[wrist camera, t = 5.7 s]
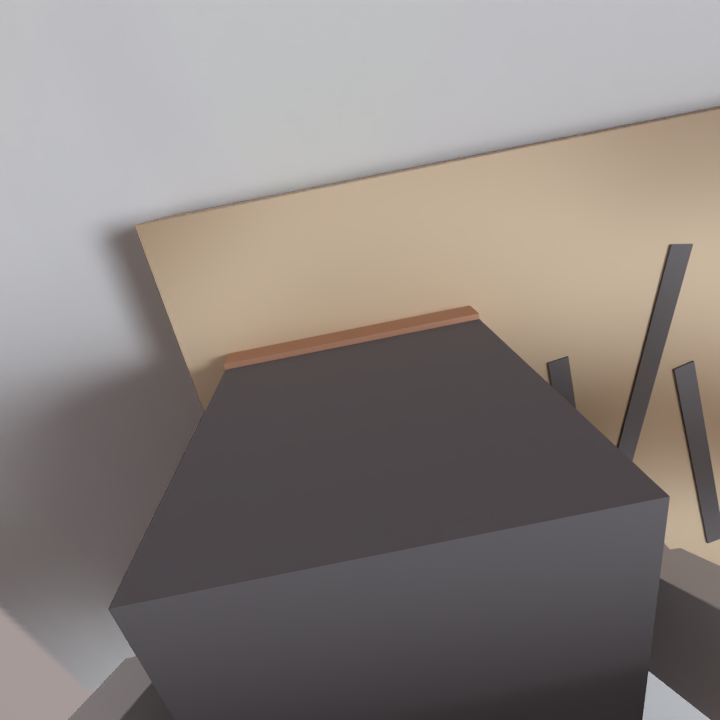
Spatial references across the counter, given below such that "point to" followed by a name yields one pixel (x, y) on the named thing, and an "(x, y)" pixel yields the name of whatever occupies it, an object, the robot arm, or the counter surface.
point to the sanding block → (397, 541)
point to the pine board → (499, 281)
